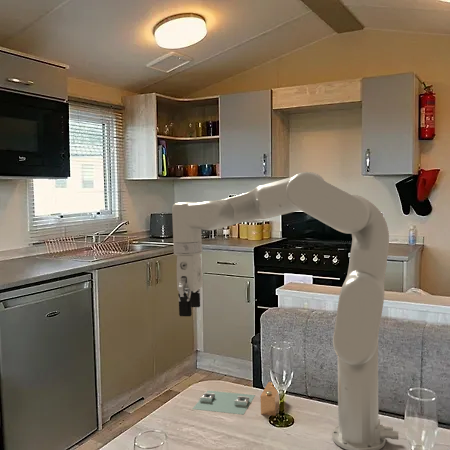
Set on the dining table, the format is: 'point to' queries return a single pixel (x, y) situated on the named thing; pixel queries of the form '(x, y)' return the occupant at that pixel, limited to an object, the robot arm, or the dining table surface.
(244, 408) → the board
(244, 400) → the chain ends
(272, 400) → the wooden block with studs
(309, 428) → the dining table surface
